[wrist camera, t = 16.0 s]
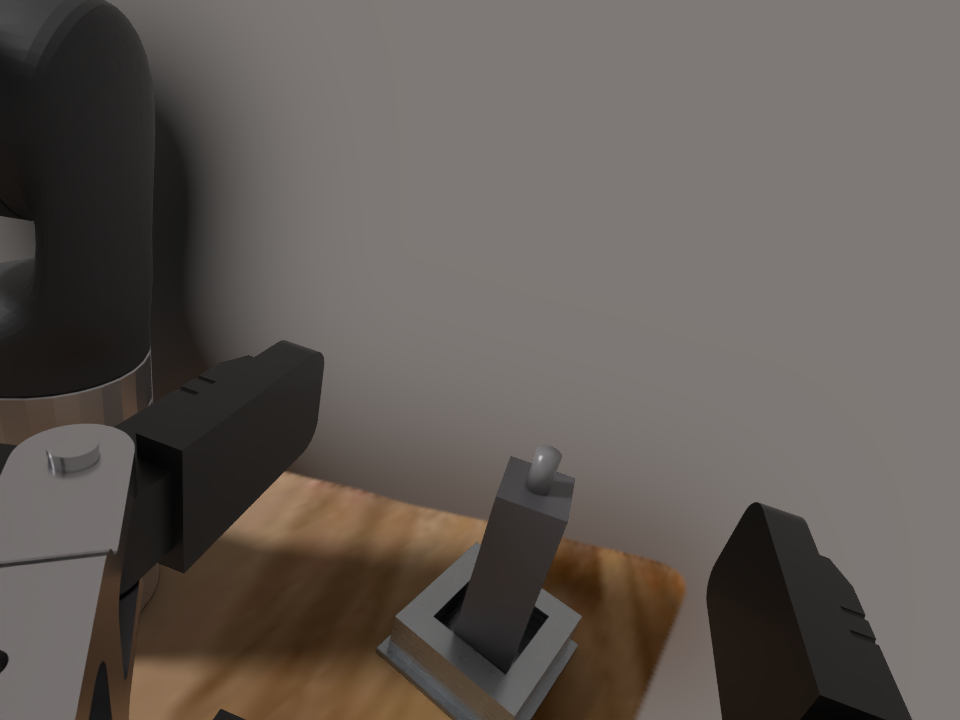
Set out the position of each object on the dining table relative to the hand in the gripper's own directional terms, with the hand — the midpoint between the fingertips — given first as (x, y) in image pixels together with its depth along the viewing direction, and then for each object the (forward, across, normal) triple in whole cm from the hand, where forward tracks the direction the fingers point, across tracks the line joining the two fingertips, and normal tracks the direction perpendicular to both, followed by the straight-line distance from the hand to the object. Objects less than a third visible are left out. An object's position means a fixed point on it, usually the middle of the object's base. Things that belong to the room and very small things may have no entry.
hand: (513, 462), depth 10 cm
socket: (+18, -1, +28) cm, 33 cm away
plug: (+18, -1, +28) cm, 33 cm away
